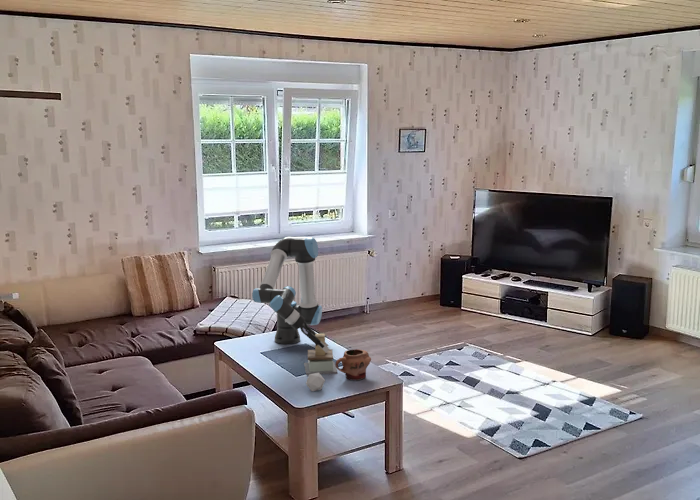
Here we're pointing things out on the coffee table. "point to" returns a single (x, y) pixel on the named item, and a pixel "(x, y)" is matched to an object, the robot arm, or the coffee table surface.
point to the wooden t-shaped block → (320, 351)
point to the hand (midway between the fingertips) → (327, 348)
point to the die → (315, 381)
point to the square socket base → (320, 367)
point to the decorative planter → (354, 364)
